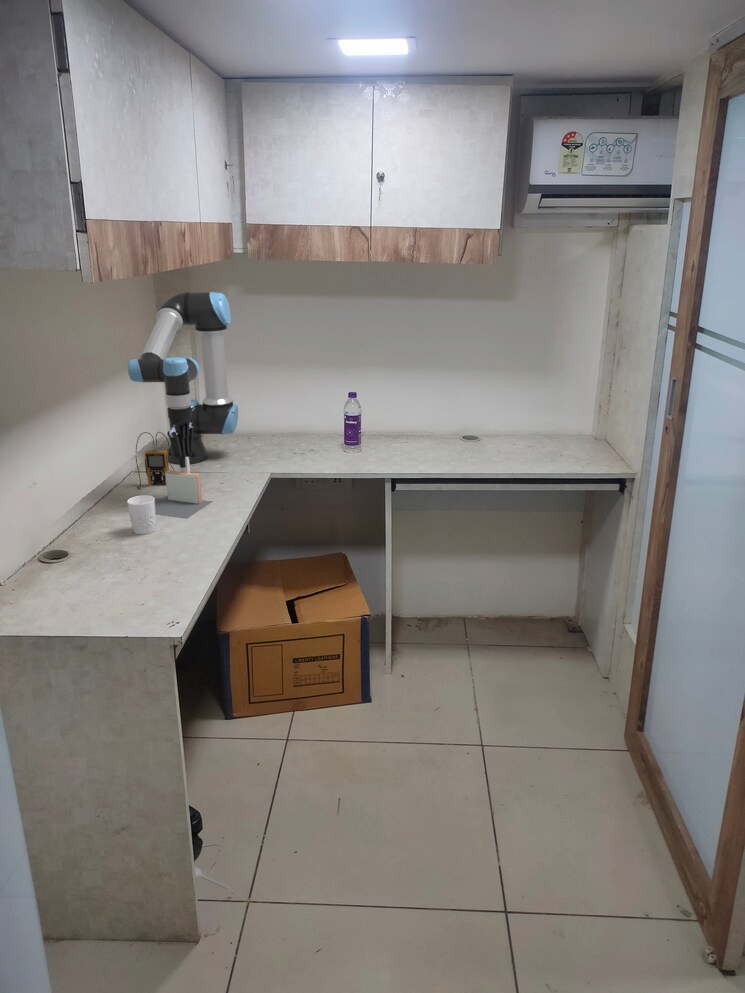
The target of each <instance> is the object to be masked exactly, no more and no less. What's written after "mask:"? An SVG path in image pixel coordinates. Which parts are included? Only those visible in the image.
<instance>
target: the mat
mask: <svg viewBox="0 0 745 993" xmlns="http://www.w3.org/2000/svg"><path fill="white" fill-rule="evenodd" d="M202 501H203V502H202V503H200V504H195V503H187V502H179V501H171V500H168V495H165V496H163V497H162V498H161V499H158V500H156V501H155V514H156V516H157V515H158V516H165V517H172V518H179V519H185V520H188V519H189V518H190V517H193V515H195V514H197V513H198V512H199V511H201V510H202V509H204V508H205V507H207V506H209V505H210V504H212V503H213V501H211V500H204V499H202Z"/></svg>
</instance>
